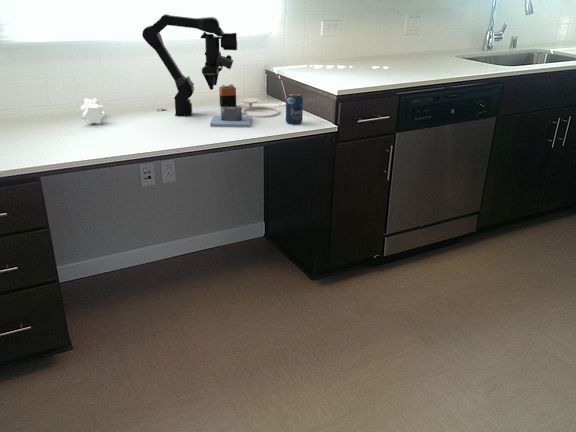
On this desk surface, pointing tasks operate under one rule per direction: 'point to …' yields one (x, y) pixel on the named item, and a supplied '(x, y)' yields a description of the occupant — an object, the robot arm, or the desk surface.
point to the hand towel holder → (253, 100)
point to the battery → (227, 96)
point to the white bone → (92, 111)
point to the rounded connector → (232, 114)
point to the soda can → (294, 108)
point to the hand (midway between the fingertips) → (213, 87)
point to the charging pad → (231, 122)
